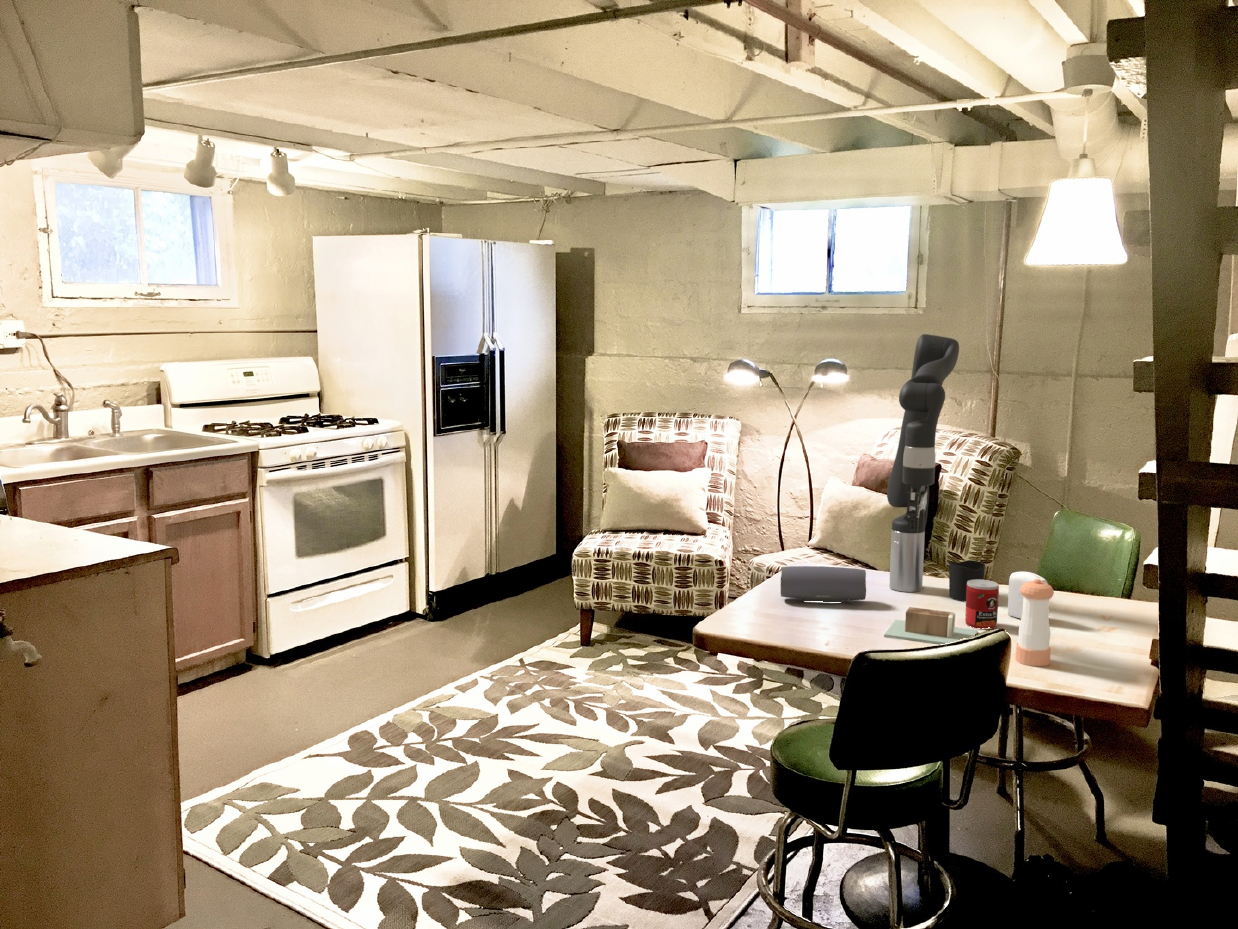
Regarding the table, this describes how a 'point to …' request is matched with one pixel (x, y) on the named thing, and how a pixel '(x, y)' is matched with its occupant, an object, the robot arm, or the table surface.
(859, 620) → the table surface
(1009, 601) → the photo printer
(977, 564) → the pen holder
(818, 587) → the bluetooth speaker
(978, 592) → the canned food
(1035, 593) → the salt shaker
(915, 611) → the walnut block
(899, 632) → the rubber mat
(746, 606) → the table surface
